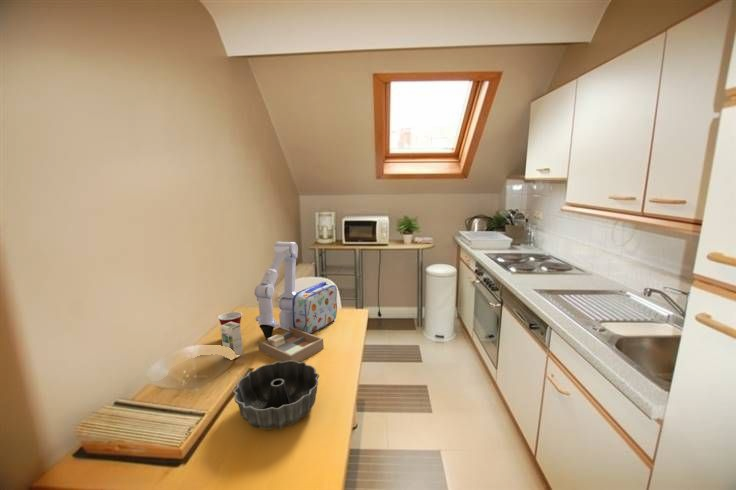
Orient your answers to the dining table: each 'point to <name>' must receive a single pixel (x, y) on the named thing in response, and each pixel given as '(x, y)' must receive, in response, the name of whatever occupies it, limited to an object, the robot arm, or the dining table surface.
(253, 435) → the dining table surface
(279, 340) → the ash block
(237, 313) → the plastic cup
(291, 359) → the divided box
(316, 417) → the dining table surface
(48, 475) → the dining table surface
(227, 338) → the syrup box
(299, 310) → the lunch box
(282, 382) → the bundt pan
